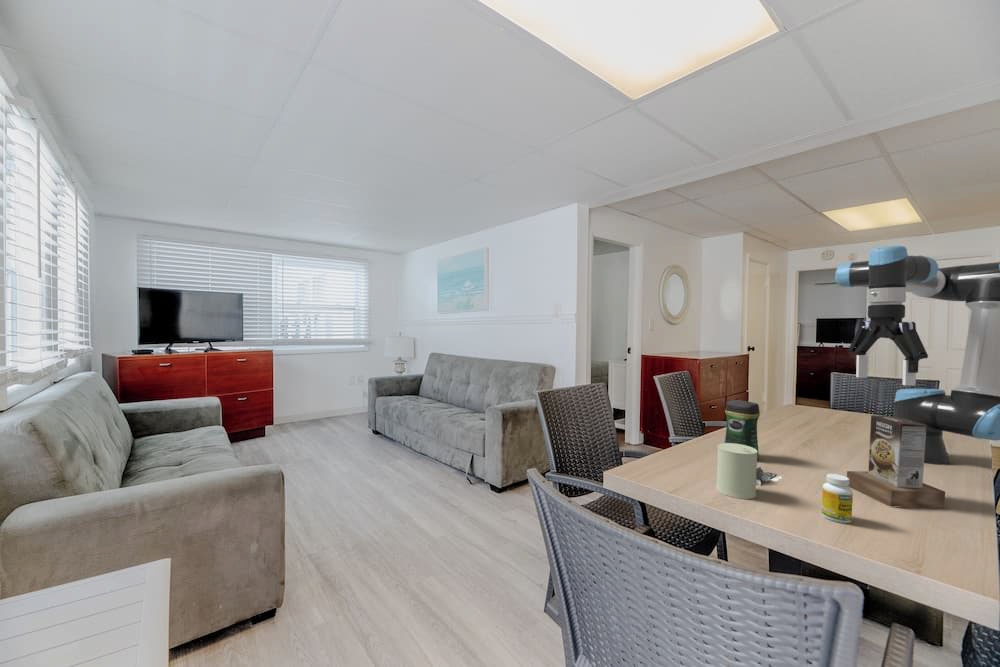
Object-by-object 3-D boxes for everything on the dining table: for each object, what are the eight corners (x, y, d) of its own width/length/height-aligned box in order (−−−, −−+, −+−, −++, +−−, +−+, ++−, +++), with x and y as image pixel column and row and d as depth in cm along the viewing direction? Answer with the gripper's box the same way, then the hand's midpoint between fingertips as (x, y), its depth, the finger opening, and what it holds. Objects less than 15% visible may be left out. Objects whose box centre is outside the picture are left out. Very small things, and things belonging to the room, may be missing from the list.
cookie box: (866, 474, 112) (869, 414, 111) (891, 475, 111) (894, 415, 111) (896, 487, 103) (900, 423, 102) (924, 488, 102) (927, 424, 102)
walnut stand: (893, 486, 114) (894, 471, 114) (944, 507, 101) (945, 491, 101) (846, 485, 114) (847, 471, 114) (890, 506, 101) (891, 490, 101)
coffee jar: (762, 458, 135) (764, 402, 135) (749, 462, 131) (751, 404, 131) (732, 450, 144) (734, 397, 143) (719, 454, 139) (721, 399, 139)
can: (742, 501, 102) (743, 453, 102) (708, 488, 110) (709, 443, 110) (764, 495, 106) (765, 449, 106) (730, 482, 115) (731, 439, 114)
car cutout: (766, 490, 111) (767, 473, 111) (740, 482, 116) (740, 466, 116) (788, 478, 120) (788, 462, 120) (762, 471, 125) (763, 456, 125)
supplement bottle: (833, 511, 98) (835, 471, 97) (857, 522, 92) (859, 480, 92) (815, 513, 96) (817, 473, 96) (838, 525, 91) (840, 482, 91)
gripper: (834, 305, 126) (833, 374, 127) (920, 302, 101) (917, 389, 102) (858, 305, 126) (857, 374, 127) (950, 302, 101) (947, 388, 102)
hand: (883, 381), depth 114 cm, fingers open, 13 cm apart
